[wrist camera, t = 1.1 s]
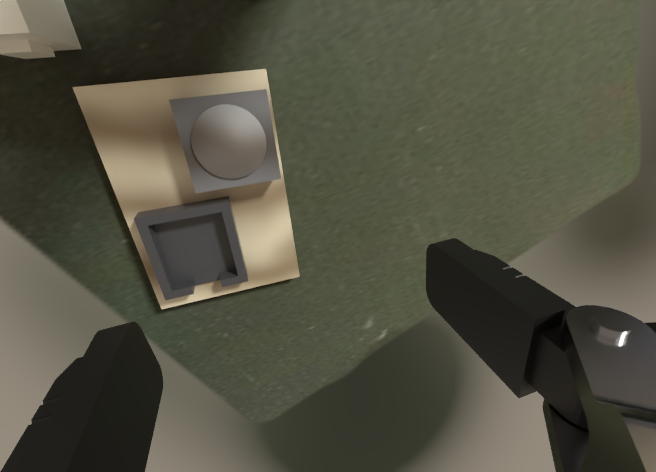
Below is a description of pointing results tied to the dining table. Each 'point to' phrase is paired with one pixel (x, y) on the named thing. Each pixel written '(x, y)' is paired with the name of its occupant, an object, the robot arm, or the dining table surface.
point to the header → (192, 245)
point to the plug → (35, 28)
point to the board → (169, 177)
